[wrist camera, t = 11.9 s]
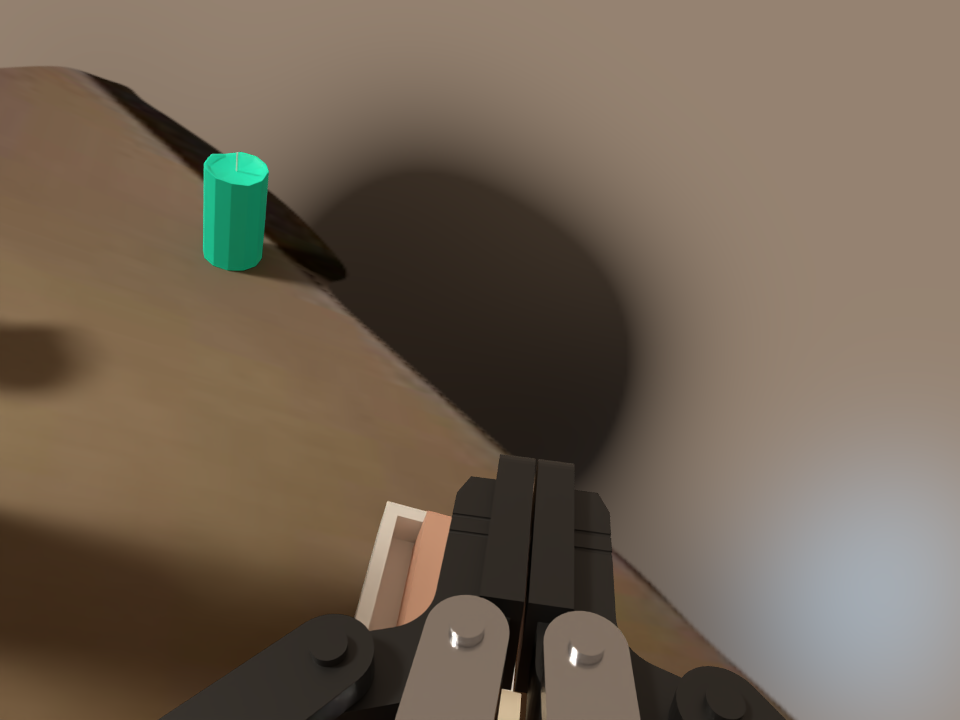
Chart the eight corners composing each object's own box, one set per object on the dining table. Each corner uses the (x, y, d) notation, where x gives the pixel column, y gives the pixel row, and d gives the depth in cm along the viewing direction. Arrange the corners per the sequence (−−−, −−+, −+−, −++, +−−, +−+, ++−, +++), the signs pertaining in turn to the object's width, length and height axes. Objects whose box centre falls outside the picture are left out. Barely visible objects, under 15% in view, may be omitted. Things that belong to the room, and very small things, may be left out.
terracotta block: (477, 661, 44) (493, 527, 51) (400, 642, 43) (427, 510, 51) (457, 692, 47) (475, 562, 54) (385, 675, 46) (413, 546, 54)
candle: (265, 242, 77) (273, 144, 70) (258, 275, 73) (265, 174, 65) (208, 232, 76) (210, 131, 68) (197, 265, 72) (197, 161, 64)
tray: (494, 719, 47) (512, 696, 45) (336, 680, 46) (345, 654, 44) (510, 565, 56) (525, 538, 54) (378, 529, 55) (387, 501, 53)
